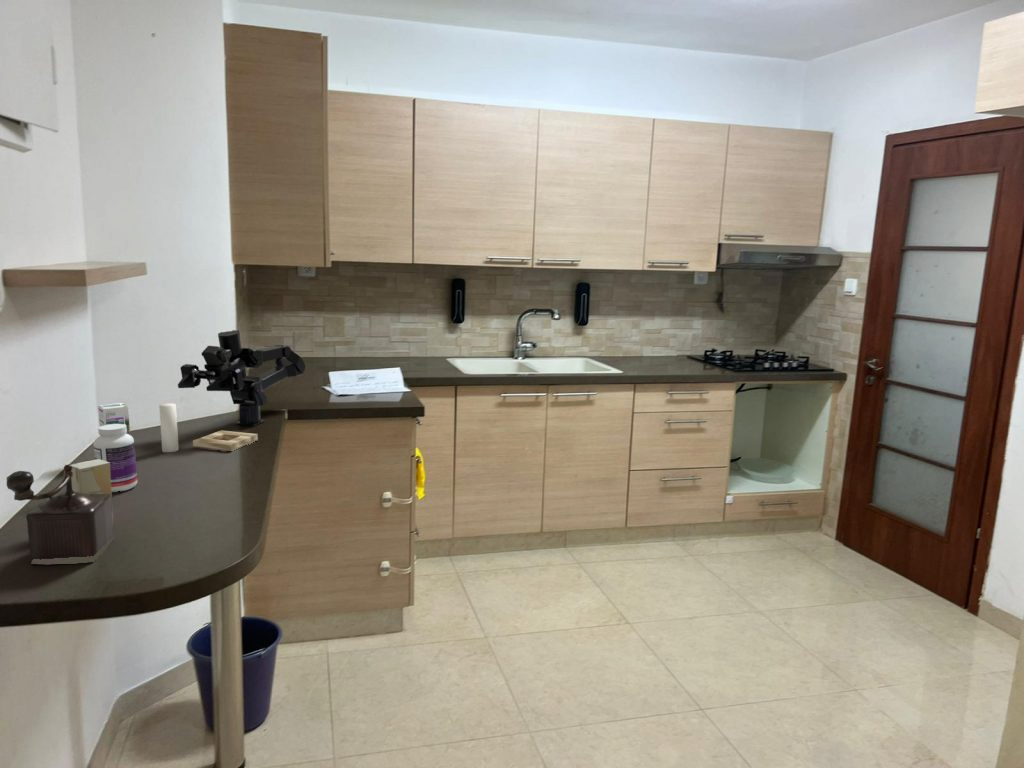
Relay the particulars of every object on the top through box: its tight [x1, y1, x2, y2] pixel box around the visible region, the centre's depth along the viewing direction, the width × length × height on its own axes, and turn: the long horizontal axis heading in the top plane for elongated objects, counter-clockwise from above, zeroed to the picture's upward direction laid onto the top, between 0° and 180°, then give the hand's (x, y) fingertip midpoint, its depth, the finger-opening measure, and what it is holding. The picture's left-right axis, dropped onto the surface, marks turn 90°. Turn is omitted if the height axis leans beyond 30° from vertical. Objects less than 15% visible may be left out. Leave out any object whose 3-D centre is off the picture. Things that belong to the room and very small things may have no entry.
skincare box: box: [70, 459, 114, 518], centre depth 142 cm, size 6×4×12 cm
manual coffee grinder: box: [6, 463, 115, 561], centre depth 125 cm, size 16×11×18 cm
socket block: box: [192, 430, 259, 452], centre depth 200 cm, size 12×12×2 cm
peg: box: [158, 402, 180, 453], centre depth 192 cm, size 4×4×12 cm
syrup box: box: [97, 402, 131, 435], centre depth 182 cm, size 6×6×14 cm
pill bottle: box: [92, 424, 138, 493], centre depth 162 cm, size 8×8×14 cm
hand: (192, 387), depth 197 cm, fingers open, 9 cm apart
